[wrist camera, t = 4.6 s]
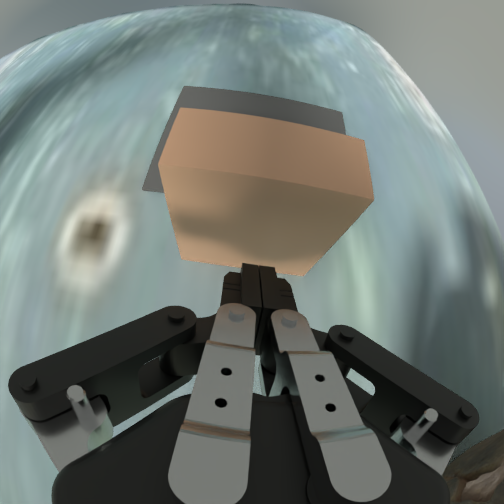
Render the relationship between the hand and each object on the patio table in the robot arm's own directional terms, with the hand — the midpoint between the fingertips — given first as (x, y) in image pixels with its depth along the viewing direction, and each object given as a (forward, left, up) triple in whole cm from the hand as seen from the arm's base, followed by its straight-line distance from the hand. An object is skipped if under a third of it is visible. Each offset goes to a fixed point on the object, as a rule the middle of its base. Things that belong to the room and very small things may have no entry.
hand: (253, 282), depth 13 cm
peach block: (0, +6, -9) cm, 11 cm away
